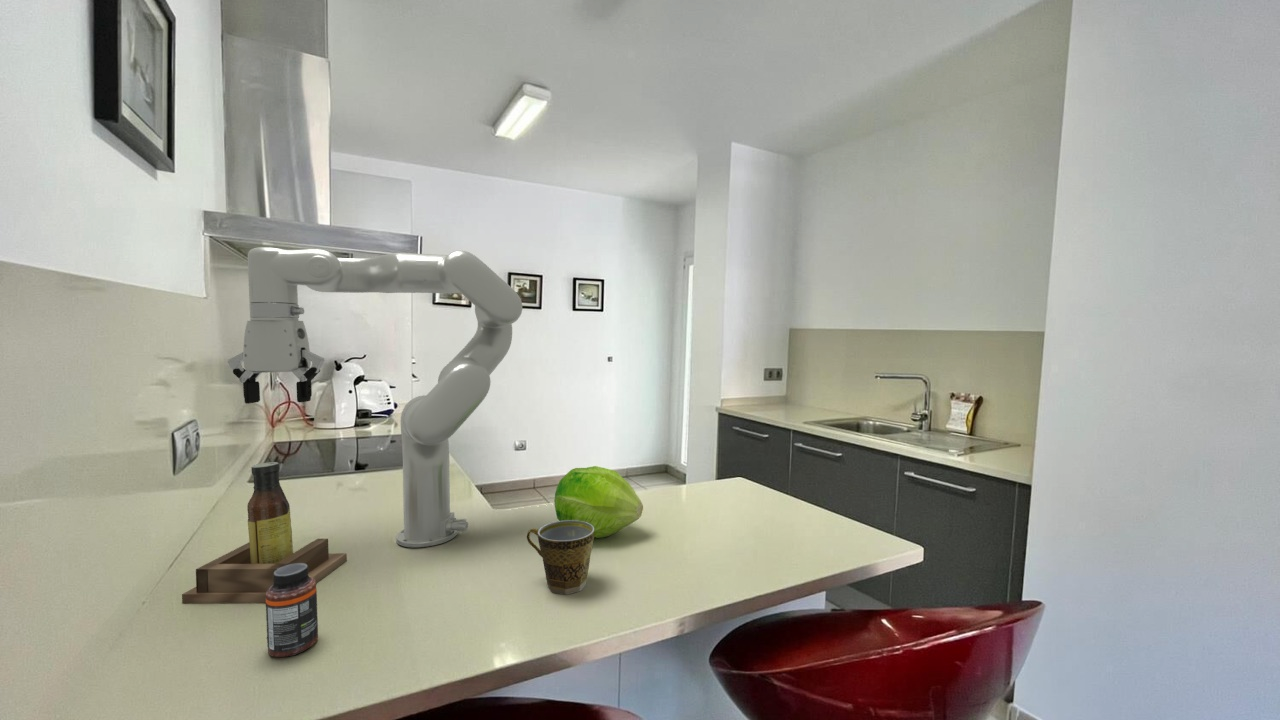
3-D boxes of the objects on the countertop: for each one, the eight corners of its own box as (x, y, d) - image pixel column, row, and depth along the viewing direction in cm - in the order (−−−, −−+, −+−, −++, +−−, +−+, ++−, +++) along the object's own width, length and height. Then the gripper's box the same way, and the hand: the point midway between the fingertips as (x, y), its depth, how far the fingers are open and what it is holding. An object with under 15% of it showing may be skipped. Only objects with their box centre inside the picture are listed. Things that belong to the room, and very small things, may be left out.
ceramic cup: (603, 577, 91) (603, 523, 91) (579, 604, 82) (579, 544, 81) (541, 567, 95) (541, 515, 95) (512, 591, 86) (511, 534, 86)
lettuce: (625, 563, 102) (629, 494, 99) (538, 542, 108) (540, 477, 105) (648, 525, 118) (652, 465, 115) (571, 509, 123) (573, 452, 121)
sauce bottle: (301, 564, 93) (298, 460, 93) (274, 580, 87) (270, 468, 87) (269, 563, 94) (265, 459, 93) (240, 579, 88) (236, 468, 87)
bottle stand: (346, 560, 99) (346, 533, 98) (289, 602, 83) (289, 570, 82) (256, 561, 99) (255, 533, 98) (182, 603, 83) (181, 570, 82)
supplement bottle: (284, 635, 73) (282, 560, 73) (326, 633, 74) (325, 558, 73) (256, 661, 67) (254, 579, 67) (303, 658, 68) (300, 577, 67)
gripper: (332, 314, 99) (335, 399, 100) (242, 315, 99) (246, 400, 99) (308, 312, 92) (312, 403, 93) (212, 313, 91) (216, 405, 92)
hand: (278, 402), depth 96 cm, fingers open, 9 cm apart
